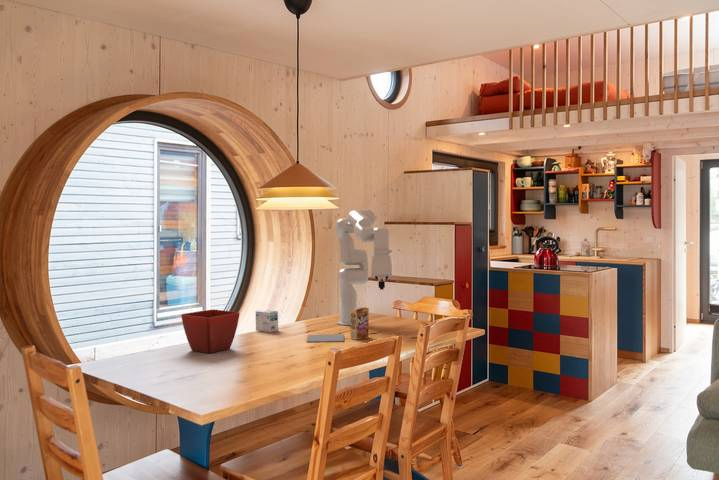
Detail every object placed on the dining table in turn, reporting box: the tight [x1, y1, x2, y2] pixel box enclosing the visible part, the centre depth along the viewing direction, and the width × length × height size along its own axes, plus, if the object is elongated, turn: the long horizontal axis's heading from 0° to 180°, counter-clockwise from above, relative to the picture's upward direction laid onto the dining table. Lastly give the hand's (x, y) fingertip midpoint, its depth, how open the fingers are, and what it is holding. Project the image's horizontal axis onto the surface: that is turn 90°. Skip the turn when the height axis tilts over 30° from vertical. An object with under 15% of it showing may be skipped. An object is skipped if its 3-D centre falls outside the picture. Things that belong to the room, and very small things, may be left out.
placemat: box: [306, 333, 345, 343], centre depth 293 cm, size 16×18×1 cm
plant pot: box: [180, 309, 240, 354], centre depth 270 cm, size 19×19×17 cm
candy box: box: [350, 306, 370, 341], centre depth 294 cm, size 9×4×15 cm, turn 134°
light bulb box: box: [255, 309, 279, 333], centre depth 316 cm, size 11×7×11 cm, turn 58°
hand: (381, 289), depth 293 cm, fingers closed
